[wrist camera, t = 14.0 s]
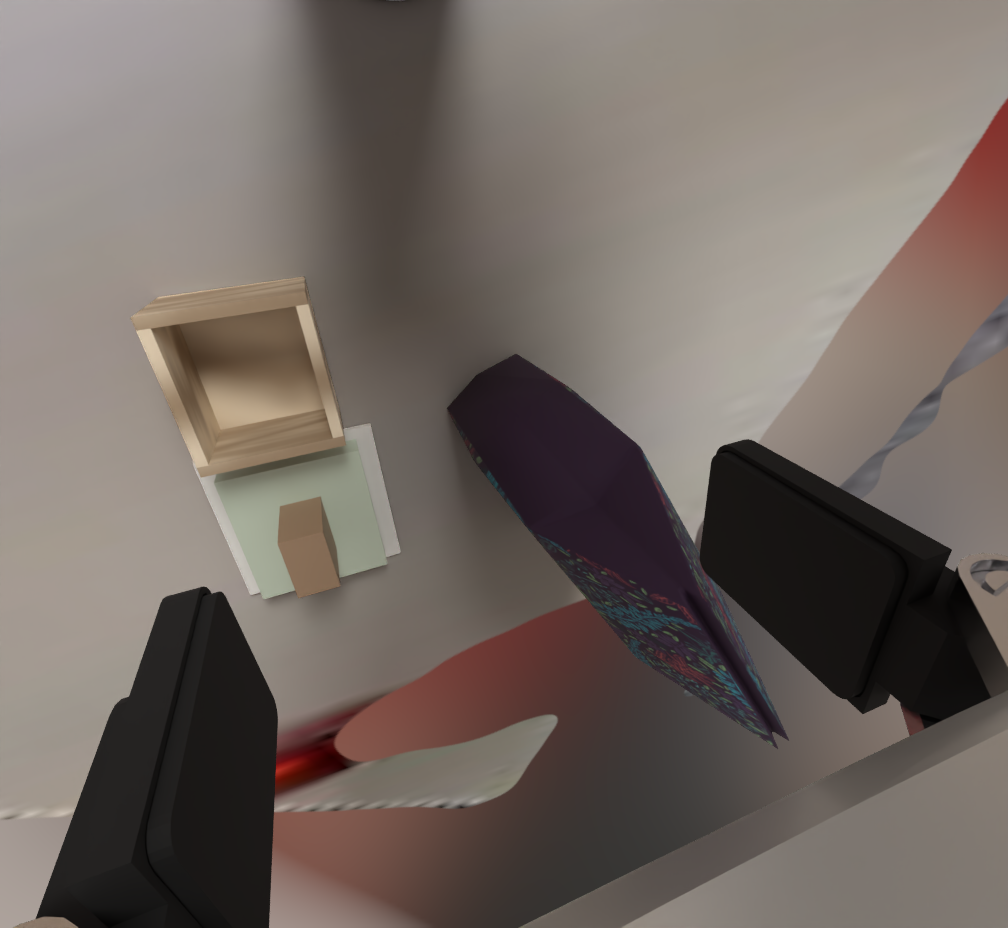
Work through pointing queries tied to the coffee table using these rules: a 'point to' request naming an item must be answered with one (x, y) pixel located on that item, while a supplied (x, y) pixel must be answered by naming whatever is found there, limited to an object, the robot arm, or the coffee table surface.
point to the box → (243, 373)
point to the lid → (304, 520)
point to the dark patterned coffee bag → (611, 532)
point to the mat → (375, 488)
